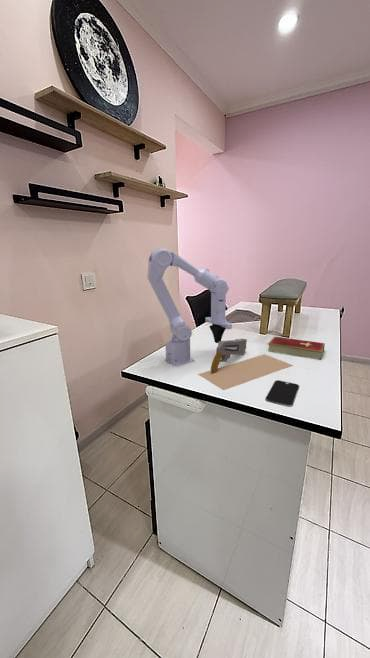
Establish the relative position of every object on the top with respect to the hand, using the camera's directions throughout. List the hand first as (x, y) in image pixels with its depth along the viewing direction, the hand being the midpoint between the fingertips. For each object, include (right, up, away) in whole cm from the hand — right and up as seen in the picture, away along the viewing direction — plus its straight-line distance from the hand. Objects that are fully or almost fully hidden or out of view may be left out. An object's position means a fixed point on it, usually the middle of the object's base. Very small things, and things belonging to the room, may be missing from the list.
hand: (217, 342), depth 114 cm
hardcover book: (+34, -5, +6) cm, 35 cm away
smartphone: (+17, -15, -29) cm, 36 cm away
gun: (+4, -8, -5) cm, 10 cm away
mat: (+9, -10, -12) cm, 18 cm away
